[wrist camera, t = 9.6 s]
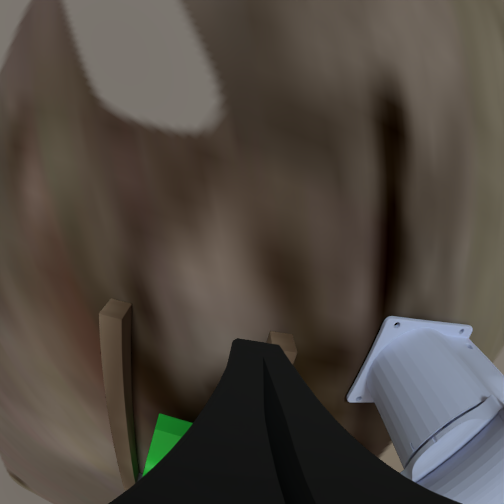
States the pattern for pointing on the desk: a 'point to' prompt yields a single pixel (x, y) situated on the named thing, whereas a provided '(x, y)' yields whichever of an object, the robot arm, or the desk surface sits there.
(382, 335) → the robot arm
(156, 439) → the mechanical part
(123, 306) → the guide track
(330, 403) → the desk surface
